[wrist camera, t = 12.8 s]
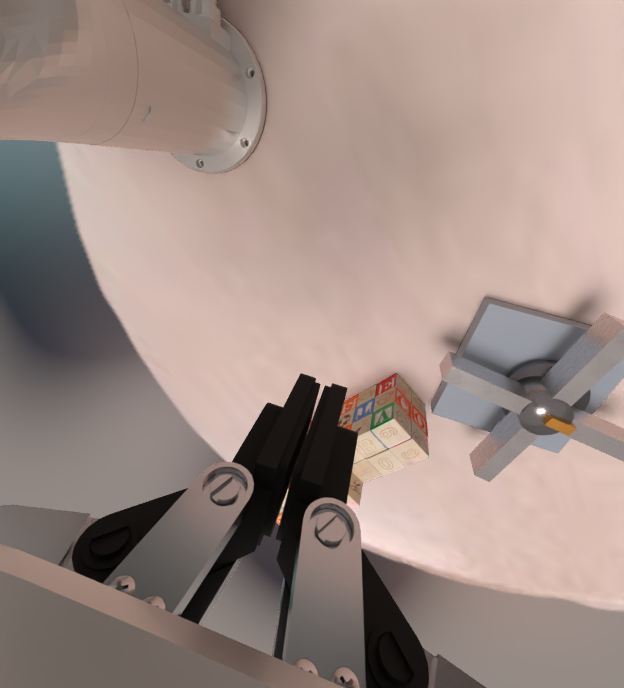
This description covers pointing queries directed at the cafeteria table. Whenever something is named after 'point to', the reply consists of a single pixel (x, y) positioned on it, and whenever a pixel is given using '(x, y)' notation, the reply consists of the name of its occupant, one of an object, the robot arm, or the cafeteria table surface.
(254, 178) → the cafeteria table surface
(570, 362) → the capstan
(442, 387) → the stand
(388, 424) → the stack of blocks
